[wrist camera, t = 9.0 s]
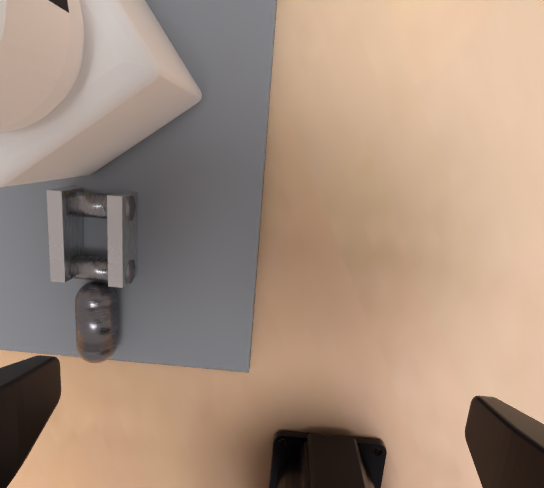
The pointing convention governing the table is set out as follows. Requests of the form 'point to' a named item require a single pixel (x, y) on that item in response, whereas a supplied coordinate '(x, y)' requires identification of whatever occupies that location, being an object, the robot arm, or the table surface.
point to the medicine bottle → (82, 85)
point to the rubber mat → (166, 210)
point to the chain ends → (93, 261)
